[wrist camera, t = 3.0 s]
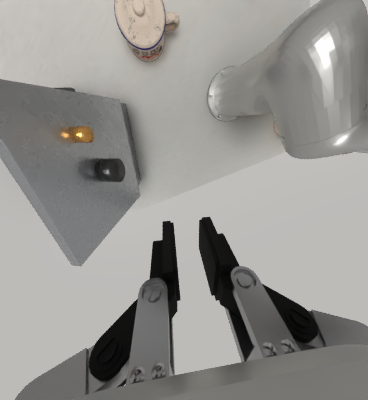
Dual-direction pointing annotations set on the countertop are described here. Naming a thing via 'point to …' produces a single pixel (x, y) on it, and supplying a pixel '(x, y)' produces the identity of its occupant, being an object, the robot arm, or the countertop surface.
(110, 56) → the countertop surface
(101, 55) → the countertop surface
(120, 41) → the countertop surface
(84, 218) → the cooker lid
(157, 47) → the teacup with lid
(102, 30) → the countertop surface
